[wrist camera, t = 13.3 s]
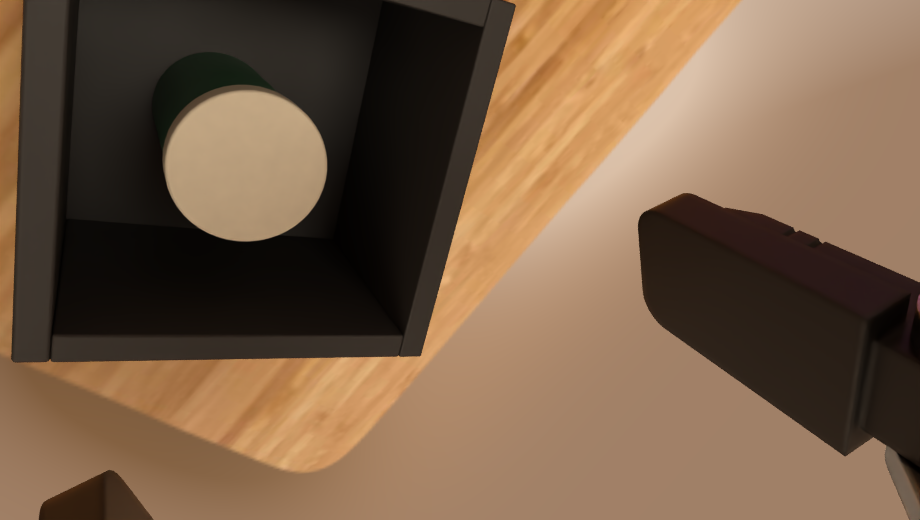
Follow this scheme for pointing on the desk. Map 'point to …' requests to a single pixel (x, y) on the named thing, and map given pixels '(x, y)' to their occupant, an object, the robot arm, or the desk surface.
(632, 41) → the desk surface
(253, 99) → the tube
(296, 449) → the desk surface
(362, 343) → the bin
